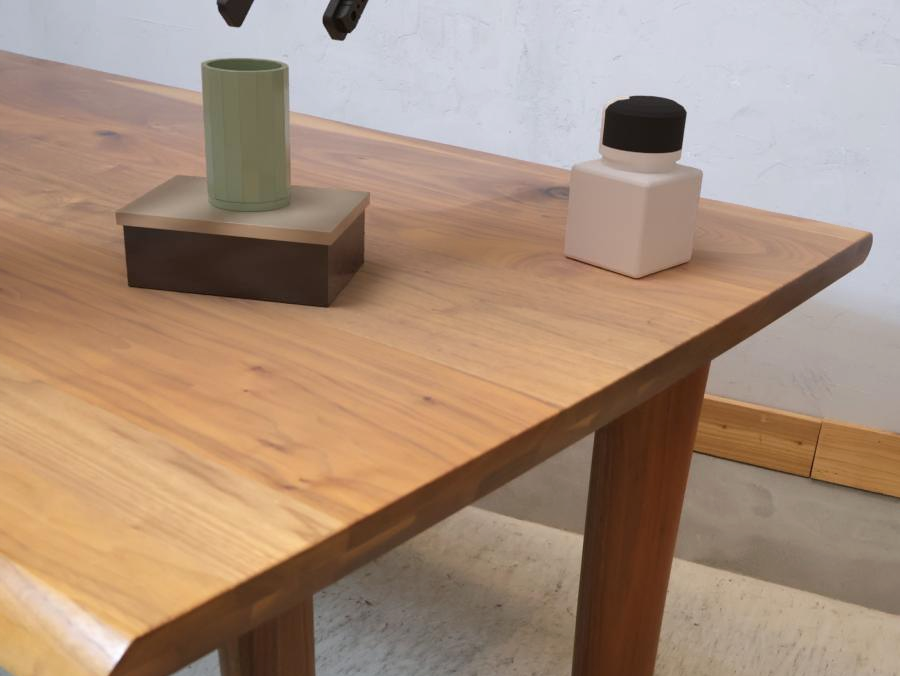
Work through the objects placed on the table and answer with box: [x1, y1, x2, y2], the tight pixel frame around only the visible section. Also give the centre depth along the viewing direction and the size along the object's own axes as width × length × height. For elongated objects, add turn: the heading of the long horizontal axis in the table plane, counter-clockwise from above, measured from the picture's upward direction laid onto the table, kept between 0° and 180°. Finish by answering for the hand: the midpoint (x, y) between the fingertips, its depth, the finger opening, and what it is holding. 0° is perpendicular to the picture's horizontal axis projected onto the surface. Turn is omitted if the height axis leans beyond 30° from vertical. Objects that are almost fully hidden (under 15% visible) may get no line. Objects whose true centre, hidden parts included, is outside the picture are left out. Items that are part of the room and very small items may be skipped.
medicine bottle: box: [563, 94, 704, 279], centre depth 86 cm, size 7×7×12 cm
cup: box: [200, 57, 292, 212], centre depth 77 cm, size 6×6×9 cm
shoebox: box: [115, 174, 371, 308], centre depth 80 cm, size 15×11×5 cm
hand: (278, 25), depth 77 cm, fingers open, 8 cm apart
